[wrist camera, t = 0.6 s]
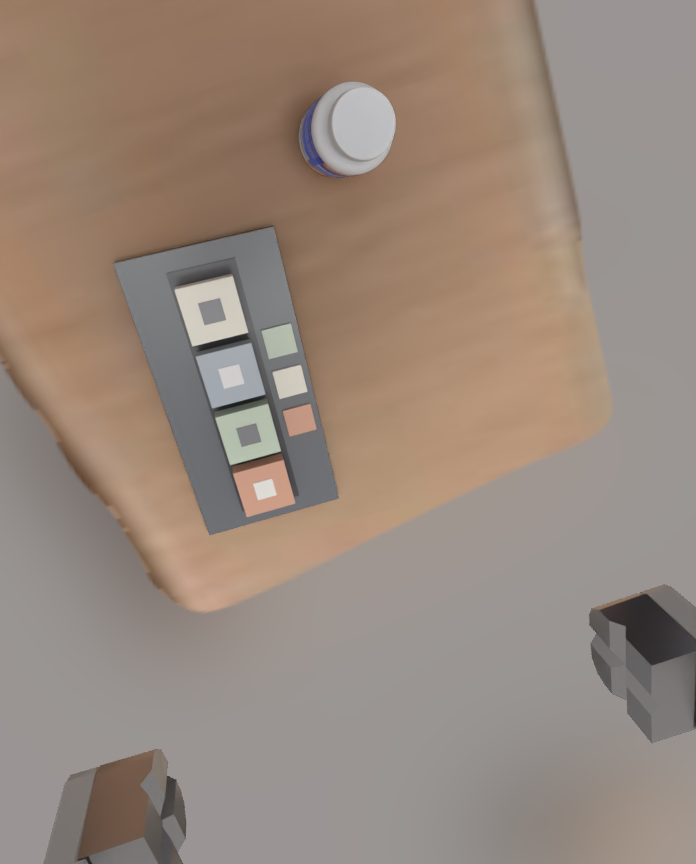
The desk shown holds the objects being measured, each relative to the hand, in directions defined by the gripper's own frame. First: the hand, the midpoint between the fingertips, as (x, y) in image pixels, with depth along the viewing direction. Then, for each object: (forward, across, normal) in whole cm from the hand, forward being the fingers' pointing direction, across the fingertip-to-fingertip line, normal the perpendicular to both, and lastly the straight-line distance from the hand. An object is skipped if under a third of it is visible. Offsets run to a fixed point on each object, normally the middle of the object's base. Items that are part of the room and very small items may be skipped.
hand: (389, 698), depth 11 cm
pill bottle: (+41, -9, -11) cm, 43 cm away
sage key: (+38, +3, +8) cm, 39 cm away
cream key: (+38, +3, -2) cm, 38 cm away
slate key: (+38, +3, +3) cm, 38 cm away
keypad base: (+41, +3, +6) cm, 41 cm away
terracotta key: (+38, +3, +13) cm, 40 cm away
